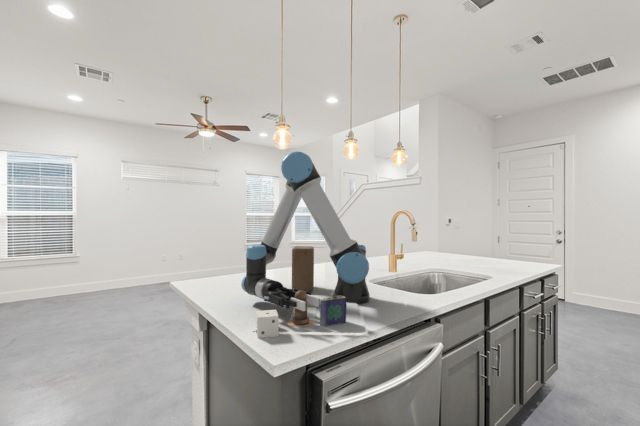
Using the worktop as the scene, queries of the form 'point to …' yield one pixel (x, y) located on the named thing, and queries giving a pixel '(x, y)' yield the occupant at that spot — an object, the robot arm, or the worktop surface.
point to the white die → (267, 323)
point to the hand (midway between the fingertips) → (311, 304)
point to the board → (311, 314)
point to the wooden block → (303, 267)
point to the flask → (332, 310)
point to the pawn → (300, 315)
